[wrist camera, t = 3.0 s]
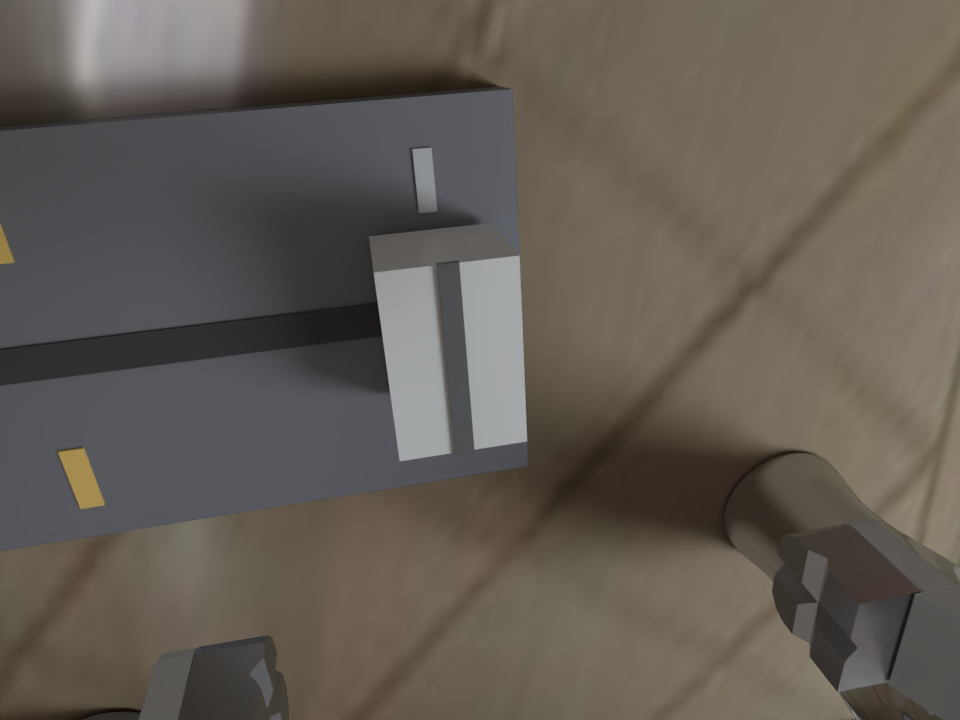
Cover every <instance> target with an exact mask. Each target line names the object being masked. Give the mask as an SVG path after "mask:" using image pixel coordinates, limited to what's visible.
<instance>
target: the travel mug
mask: <svg viewBox="0 0 960 720" xmlns="http://www.w3.org/2000/svg"><path fill="white" fill-rule="evenodd" d="M139 716H140V713H137V712H109V713H103V714H97V715H94V716H91V717H87V718H84V719H82V720H138V719H139Z"/></svg>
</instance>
